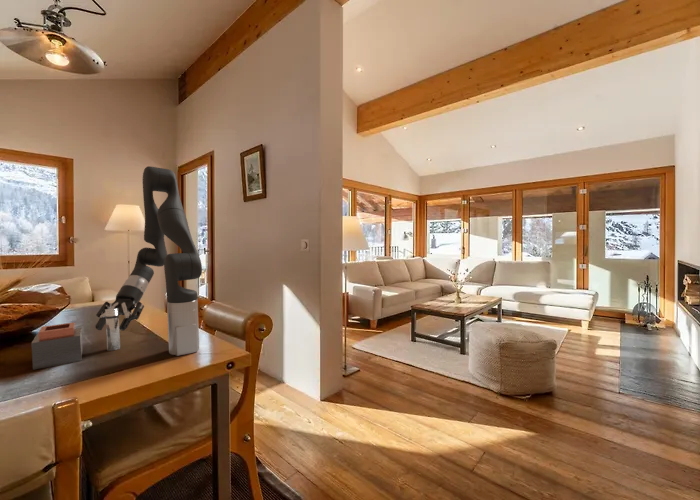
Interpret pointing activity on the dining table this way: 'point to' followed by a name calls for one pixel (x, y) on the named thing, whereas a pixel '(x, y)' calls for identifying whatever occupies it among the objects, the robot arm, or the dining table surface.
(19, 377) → the dining table surface
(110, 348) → the steel tube
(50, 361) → the block
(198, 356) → the dining table surface
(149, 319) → the dining table surface
